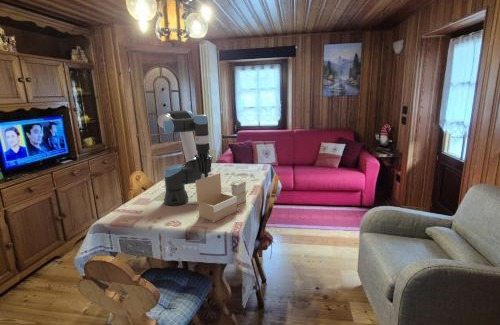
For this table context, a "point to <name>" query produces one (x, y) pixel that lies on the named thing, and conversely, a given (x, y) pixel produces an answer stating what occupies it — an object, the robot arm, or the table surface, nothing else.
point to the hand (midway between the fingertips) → (205, 184)
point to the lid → (208, 186)
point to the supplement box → (239, 191)
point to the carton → (217, 207)
